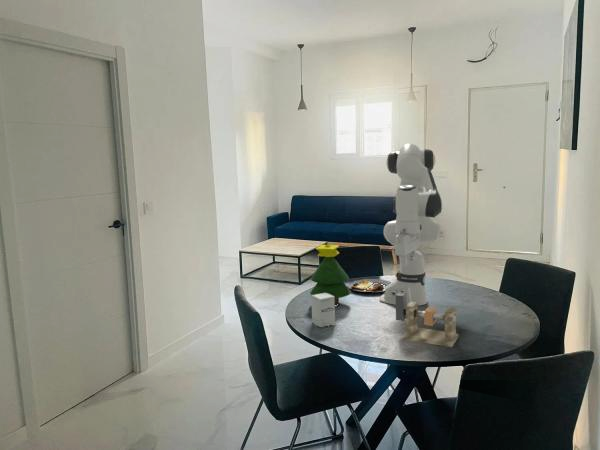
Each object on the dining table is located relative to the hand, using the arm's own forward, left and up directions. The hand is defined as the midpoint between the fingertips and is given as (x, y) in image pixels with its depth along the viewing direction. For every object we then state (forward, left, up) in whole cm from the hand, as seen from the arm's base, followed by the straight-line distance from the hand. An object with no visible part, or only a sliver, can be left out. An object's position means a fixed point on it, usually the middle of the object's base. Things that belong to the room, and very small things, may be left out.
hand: (408, 263), depth 181 cm
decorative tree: (-43, +17, -28) cm, 55 cm away
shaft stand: (+10, -3, -28) cm, 29 cm away
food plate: (-37, +49, -28) cm, 67 cm away
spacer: (+9, -3, -22) cm, 24 cm away
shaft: (+8, -3, -22) cm, 23 cm away
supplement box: (-34, -7, -28) cm, 45 cm away
